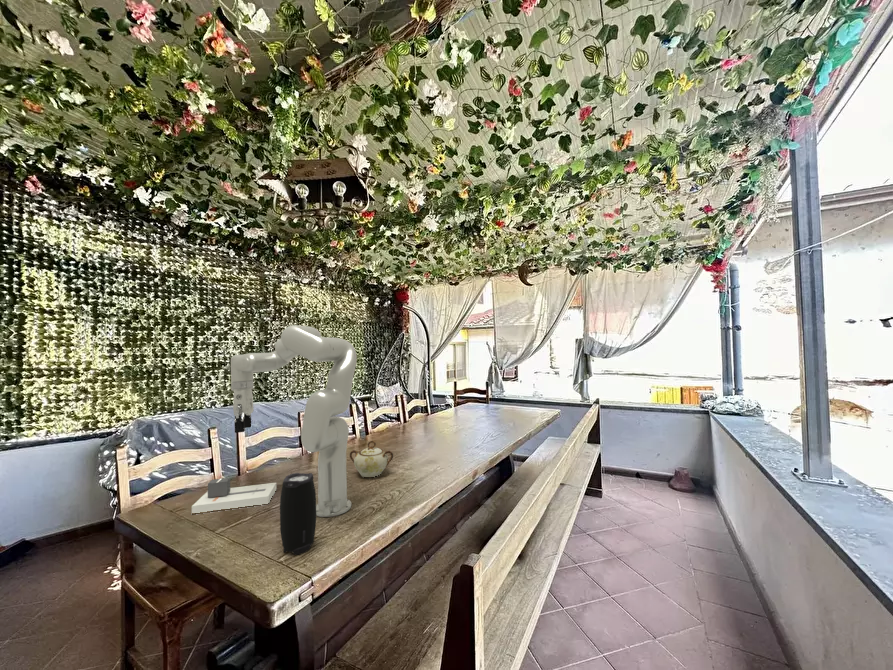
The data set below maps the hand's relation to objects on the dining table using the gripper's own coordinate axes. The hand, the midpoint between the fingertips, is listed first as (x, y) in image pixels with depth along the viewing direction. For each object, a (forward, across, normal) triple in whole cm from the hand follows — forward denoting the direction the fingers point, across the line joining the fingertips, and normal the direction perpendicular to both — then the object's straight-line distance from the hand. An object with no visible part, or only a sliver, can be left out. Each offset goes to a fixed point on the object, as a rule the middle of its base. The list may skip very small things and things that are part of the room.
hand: (243, 429), depth 132 cm
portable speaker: (+27, -45, -24) cm, 58 cm away
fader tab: (+22, -3, +8) cm, 24 cm away
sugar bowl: (+27, +6, -49) cm, 56 cm away
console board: (+26, -3, +2) cm, 26 cm away
